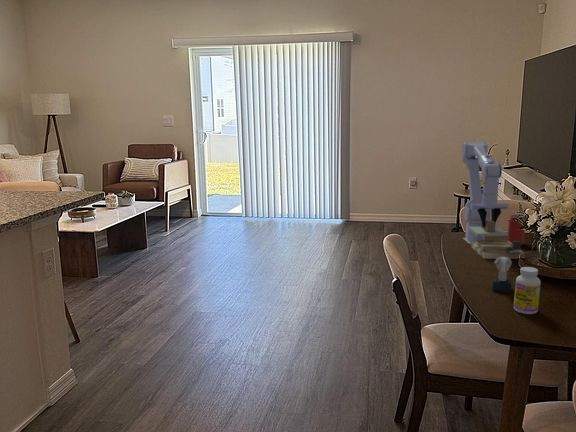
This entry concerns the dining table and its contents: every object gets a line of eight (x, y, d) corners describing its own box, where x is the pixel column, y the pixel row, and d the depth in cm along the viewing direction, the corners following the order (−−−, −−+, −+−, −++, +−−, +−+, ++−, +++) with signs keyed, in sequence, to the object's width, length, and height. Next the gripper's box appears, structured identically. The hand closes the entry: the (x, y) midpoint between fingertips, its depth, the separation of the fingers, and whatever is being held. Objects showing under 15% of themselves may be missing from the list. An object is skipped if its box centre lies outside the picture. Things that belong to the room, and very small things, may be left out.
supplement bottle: (509, 310, 160) (512, 269, 158) (519, 304, 165) (522, 264, 162) (532, 316, 156) (536, 274, 153) (541, 310, 160) (545, 269, 158)
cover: (468, 229, 226) (469, 217, 225) (497, 229, 225) (498, 217, 224) (477, 236, 214) (477, 223, 213) (508, 235, 213) (508, 223, 212)
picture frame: (470, 246, 230) (471, 237, 229) (509, 246, 229) (509, 237, 228) (483, 258, 212) (484, 248, 211) (525, 258, 211) (526, 248, 210)
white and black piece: (510, 286, 181) (512, 254, 178) (510, 294, 173) (513, 261, 171) (492, 284, 183) (494, 253, 180) (492, 292, 175) (494, 260, 173)
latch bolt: (509, 248, 213) (509, 238, 212) (515, 248, 213) (516, 238, 212) (513, 252, 208) (514, 241, 207) (520, 252, 208) (520, 241, 207)
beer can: (520, 241, 235) (523, 214, 233) (525, 245, 229) (528, 218, 226) (505, 241, 236) (507, 214, 233) (509, 245, 230) (511, 218, 227)
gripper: (474, 195, 213) (472, 229, 216) (512, 195, 212) (509, 229, 215) (469, 192, 220) (467, 225, 222) (505, 192, 219) (503, 225, 222)
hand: (488, 226), depth 219 cm, fingers closed on cover, 3 cm apart
